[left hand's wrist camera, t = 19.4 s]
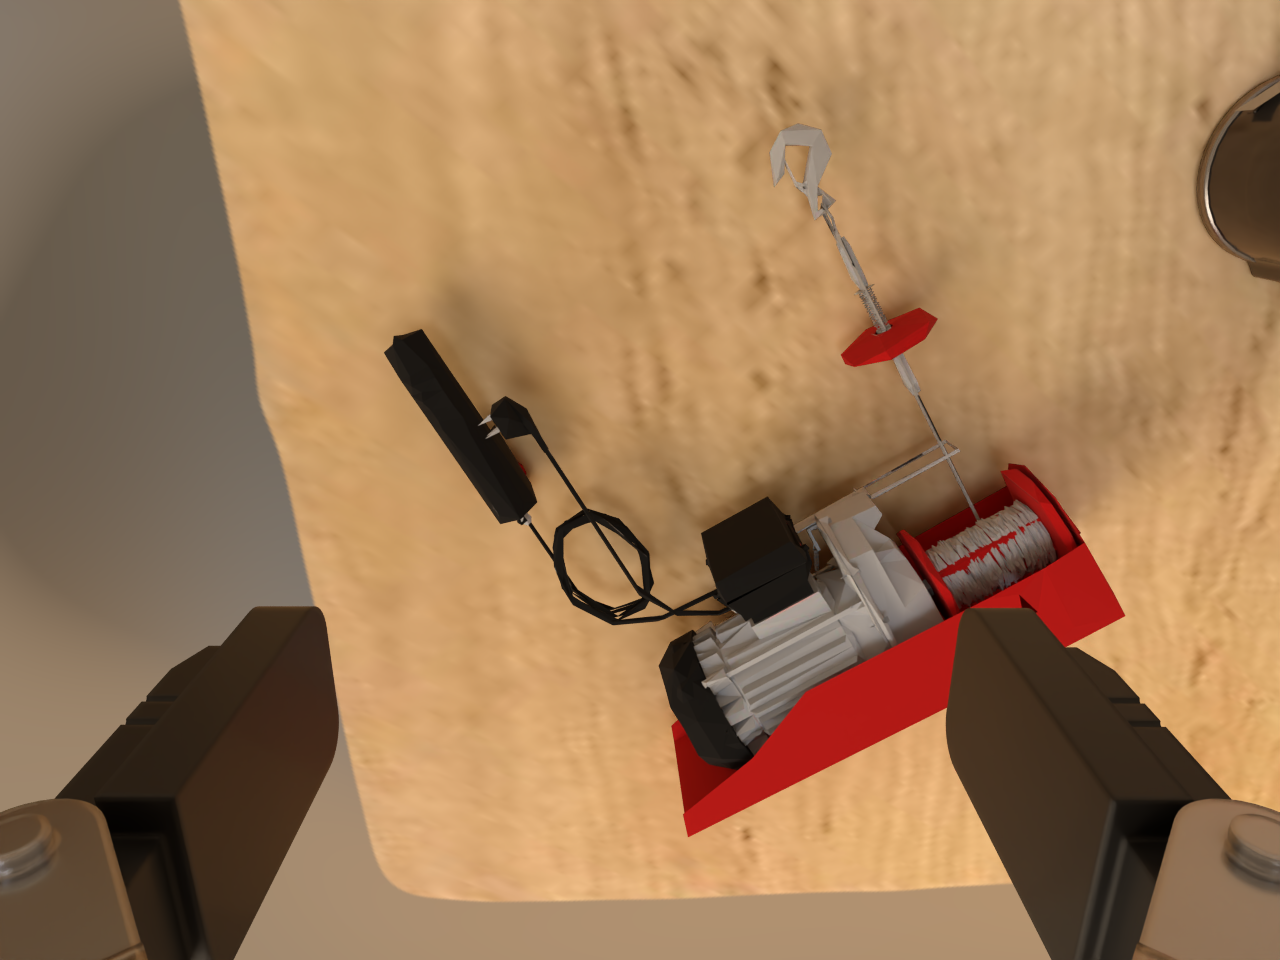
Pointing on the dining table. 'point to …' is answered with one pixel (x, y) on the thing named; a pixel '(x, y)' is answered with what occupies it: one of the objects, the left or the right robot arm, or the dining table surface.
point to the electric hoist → (803, 580)
